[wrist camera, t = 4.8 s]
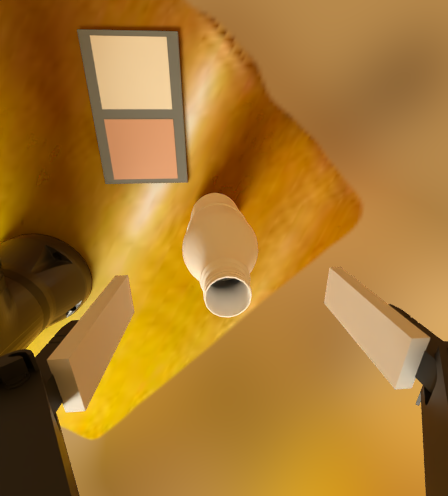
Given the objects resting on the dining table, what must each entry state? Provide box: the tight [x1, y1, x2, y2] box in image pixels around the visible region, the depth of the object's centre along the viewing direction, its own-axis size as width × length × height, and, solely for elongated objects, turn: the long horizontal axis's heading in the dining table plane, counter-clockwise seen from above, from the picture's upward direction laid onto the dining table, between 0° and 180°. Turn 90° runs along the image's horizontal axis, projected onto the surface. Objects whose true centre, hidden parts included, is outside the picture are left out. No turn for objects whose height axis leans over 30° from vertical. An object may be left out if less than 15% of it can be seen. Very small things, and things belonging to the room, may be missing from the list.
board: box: [77, 29, 188, 184], centre depth 32 cm, size 12×18×1 cm, turn 1°
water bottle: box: [183, 193, 258, 317], centre depth 26 cm, size 7×7×25 cm
